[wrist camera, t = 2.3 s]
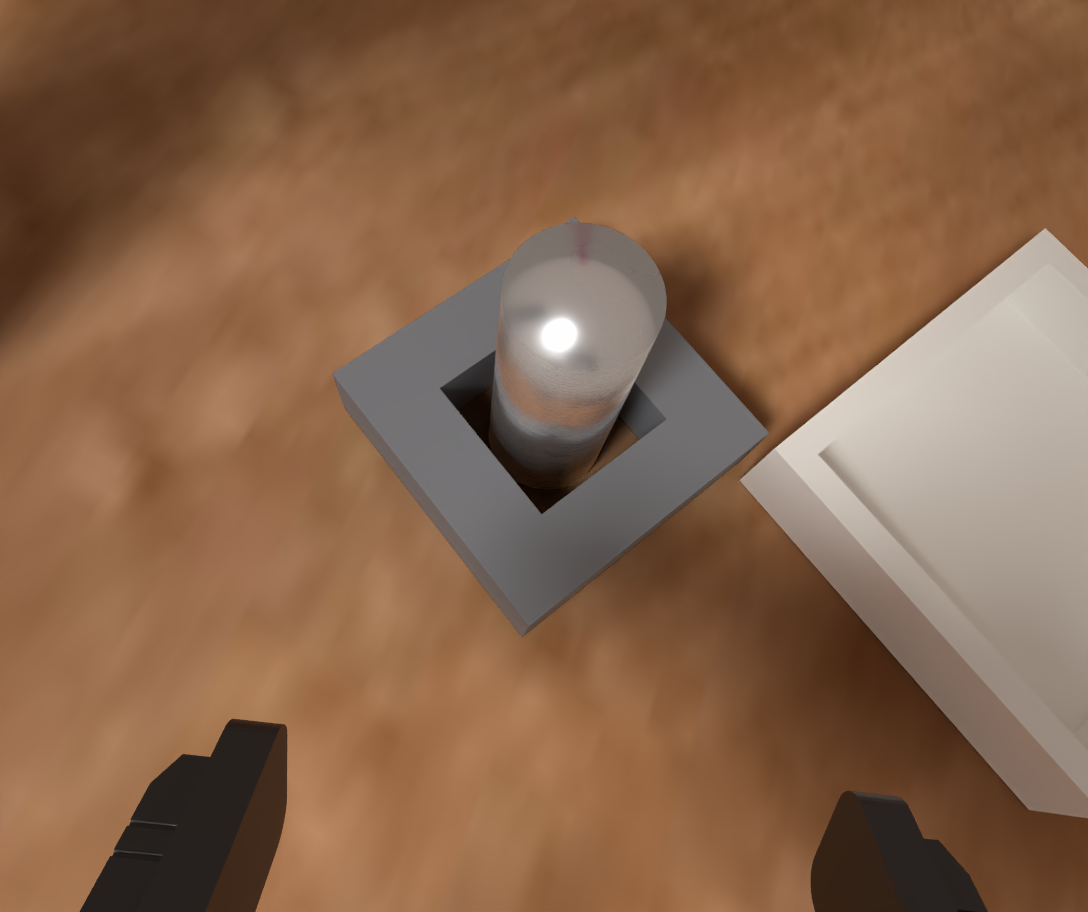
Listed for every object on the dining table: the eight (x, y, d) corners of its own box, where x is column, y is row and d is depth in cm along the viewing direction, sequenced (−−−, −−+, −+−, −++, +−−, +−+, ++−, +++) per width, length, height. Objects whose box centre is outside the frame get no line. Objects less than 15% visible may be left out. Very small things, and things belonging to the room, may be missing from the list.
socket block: (344, 408, 29) (332, 373, 26) (564, 263, 31) (575, 217, 29) (521, 637, 27) (529, 626, 24) (739, 461, 30) (769, 433, 27)
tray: (739, 480, 29) (774, 448, 26) (987, 278, 33) (1045, 228, 30) (1028, 809, 27) (1108, 821, 23) (1262, 549, 30) (1360, 527, 27)
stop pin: (465, 425, 29) (467, 277, 20) (553, 363, 30) (594, 195, 21) (536, 512, 28) (573, 402, 19) (623, 446, 29) (699, 311, 20)
